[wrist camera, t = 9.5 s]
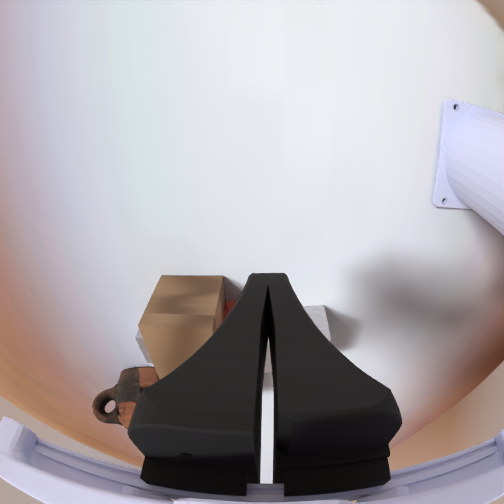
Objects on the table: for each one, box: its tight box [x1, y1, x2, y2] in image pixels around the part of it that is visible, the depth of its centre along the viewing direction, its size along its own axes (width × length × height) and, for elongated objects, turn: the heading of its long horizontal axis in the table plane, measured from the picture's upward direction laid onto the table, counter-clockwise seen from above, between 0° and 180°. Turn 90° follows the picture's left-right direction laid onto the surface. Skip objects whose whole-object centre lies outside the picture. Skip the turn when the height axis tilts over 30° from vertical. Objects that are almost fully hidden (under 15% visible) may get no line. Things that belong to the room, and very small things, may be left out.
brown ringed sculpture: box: [92, 367, 159, 438], centre depth 31 cm, size 12×10×8 cm
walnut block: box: [138, 276, 226, 379], centre depth 24 cm, size 5×12×6 cm, turn 2°
